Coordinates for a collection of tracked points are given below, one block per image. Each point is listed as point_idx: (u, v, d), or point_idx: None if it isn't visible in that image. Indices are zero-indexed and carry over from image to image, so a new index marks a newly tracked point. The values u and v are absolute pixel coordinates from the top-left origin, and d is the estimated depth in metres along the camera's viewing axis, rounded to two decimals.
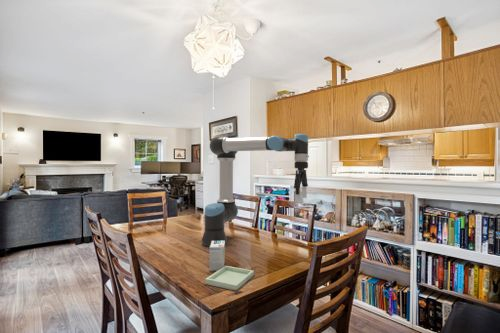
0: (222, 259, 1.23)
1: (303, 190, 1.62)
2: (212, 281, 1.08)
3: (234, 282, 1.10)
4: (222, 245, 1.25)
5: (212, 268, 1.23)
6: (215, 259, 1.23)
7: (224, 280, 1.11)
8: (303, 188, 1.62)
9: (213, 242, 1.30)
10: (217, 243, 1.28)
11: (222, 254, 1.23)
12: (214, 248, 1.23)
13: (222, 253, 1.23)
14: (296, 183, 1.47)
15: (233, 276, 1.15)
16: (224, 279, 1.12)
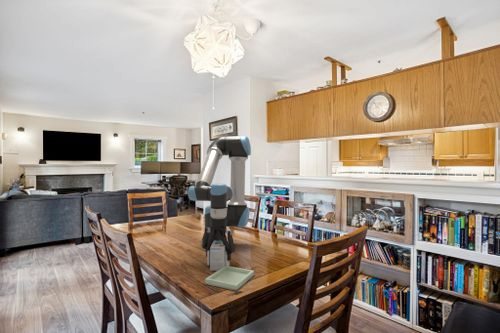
0: (223, 259, 1.23)
1: None
2: (212, 281, 1.08)
3: (234, 282, 1.10)
4: (223, 245, 1.25)
5: (213, 268, 1.23)
6: (216, 259, 1.23)
7: (224, 280, 1.11)
8: None
9: (214, 242, 1.30)
10: (218, 243, 1.28)
11: (223, 254, 1.23)
12: (215, 248, 1.23)
13: (223, 253, 1.23)
14: None
15: (233, 276, 1.15)
16: (224, 279, 1.12)
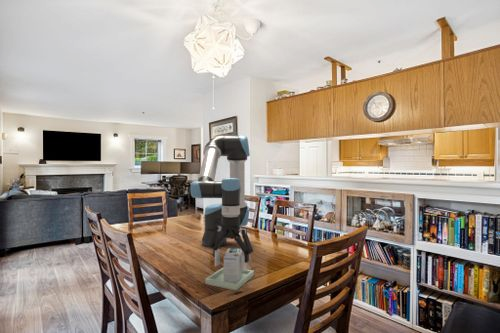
0: (238, 271, 1.08)
1: None
2: (212, 281, 1.08)
3: None
4: (238, 254, 1.10)
5: (227, 280, 1.09)
6: (230, 270, 1.08)
7: None
8: None
9: (229, 250, 1.16)
10: (233, 252, 1.14)
11: (238, 265, 1.08)
12: (229, 258, 1.08)
13: (238, 264, 1.08)
14: None
15: None
16: None
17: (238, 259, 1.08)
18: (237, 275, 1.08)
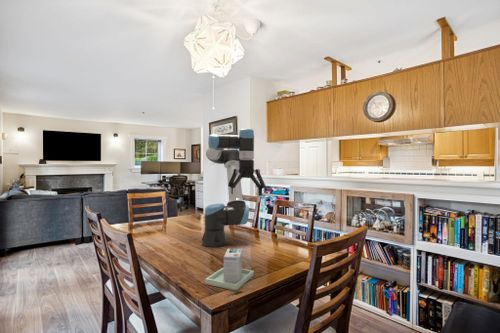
0: (238, 271, 1.08)
1: None
2: (212, 281, 1.08)
3: None
4: (238, 254, 1.10)
5: (227, 280, 1.09)
6: (230, 270, 1.08)
7: None
8: None
9: (229, 250, 1.16)
10: (233, 252, 1.14)
11: (238, 265, 1.08)
12: (229, 258, 1.08)
13: (238, 264, 1.08)
14: None
15: None
16: None
17: (238, 259, 1.08)
18: (237, 275, 1.08)
